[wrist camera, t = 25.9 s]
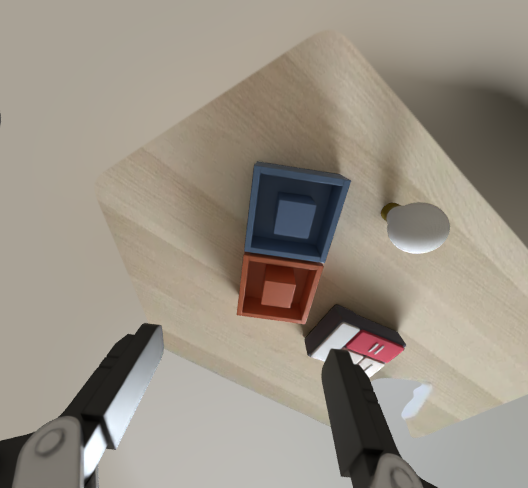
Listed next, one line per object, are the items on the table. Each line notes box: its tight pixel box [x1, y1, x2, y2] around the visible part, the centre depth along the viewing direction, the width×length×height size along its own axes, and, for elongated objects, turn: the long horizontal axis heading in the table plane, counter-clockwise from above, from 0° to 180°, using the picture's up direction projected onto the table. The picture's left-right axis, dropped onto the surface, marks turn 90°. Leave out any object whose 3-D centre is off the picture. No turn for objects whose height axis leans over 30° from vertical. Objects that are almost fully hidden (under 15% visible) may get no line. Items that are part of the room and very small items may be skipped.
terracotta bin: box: [237, 252, 324, 324], centre depth 35 cm, size 12×12×4 cm
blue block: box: [273, 191, 316, 239], centre depth 29 cm, size 5×5×5 cm
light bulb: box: [381, 202, 450, 253], centre depth 27 cm, size 6×6×10 cm
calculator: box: [305, 305, 406, 377], centre depth 41 cm, size 11×4×15 cm
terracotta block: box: [261, 264, 296, 308], centre depth 35 cm, size 5×5×5 cm
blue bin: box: [244, 161, 351, 263], centre depth 30 cm, size 12×12×4 cm
